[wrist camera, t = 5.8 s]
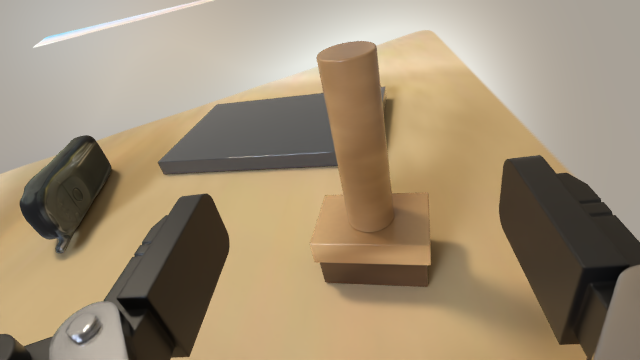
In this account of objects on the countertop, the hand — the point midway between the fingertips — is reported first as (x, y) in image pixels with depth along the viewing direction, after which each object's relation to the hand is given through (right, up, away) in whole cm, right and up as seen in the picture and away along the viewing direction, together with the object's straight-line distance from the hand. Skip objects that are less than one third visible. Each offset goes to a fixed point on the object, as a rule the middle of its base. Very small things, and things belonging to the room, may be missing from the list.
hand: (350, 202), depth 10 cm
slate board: (-5, +6, +30) cm, 31 cm away
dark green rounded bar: (-24, -2, +26) cm, 35 cm away
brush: (+3, -4, +13) cm, 14 cm away
